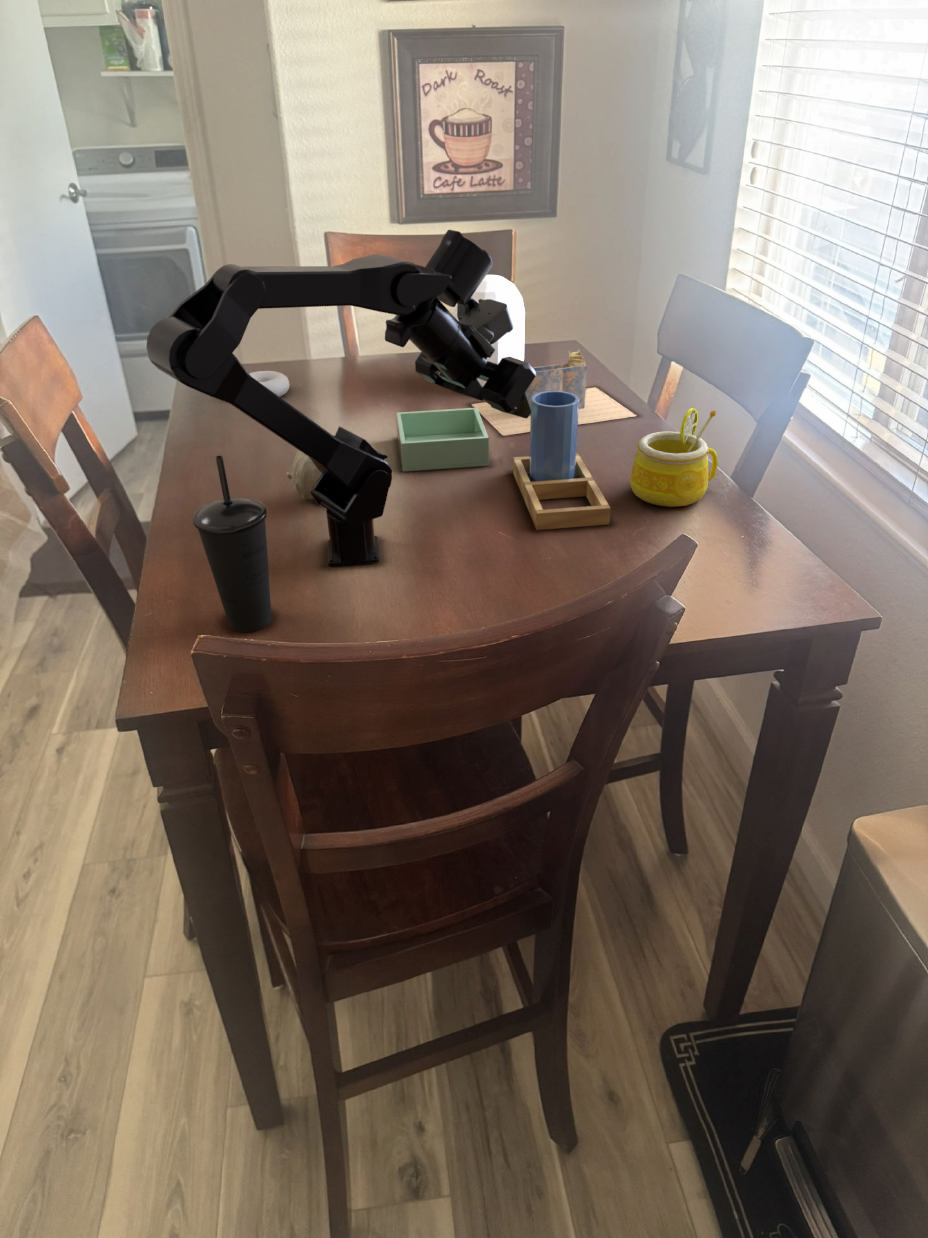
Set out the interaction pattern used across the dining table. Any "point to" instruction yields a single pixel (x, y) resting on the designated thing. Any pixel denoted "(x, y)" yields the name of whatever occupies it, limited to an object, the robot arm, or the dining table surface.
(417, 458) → the basin
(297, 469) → the garlic bulb
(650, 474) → the mug
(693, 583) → the dining table surface
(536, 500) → the wooden rectangular frame
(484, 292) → the container
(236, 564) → the drinking cup
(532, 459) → the tumbler
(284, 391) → the donut
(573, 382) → the architectural model on board
